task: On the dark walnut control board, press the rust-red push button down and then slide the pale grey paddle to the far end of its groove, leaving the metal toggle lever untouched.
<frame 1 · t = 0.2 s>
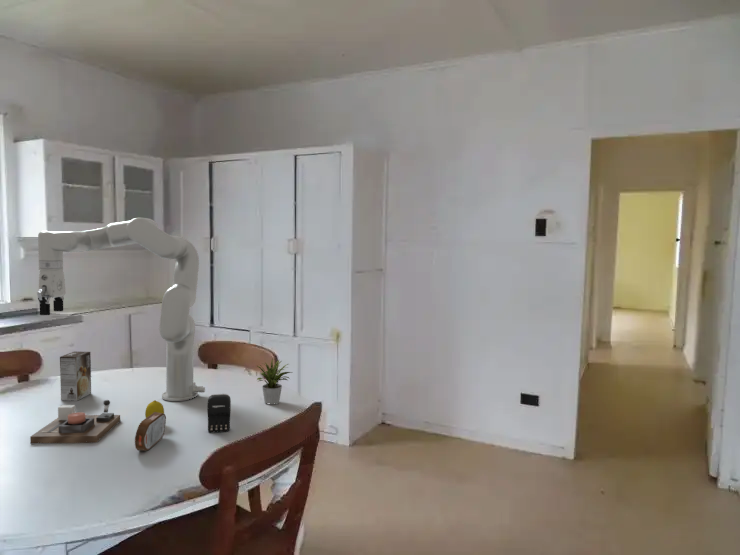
hand: (51, 313, 188), 31 cm above the table, tool pointing down, fingers open, 9 cm apart
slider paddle: (66, 412, 163), point 4 cm above the table, slide at 0.0 cm
tin: (151, 445, 150), on the table
control board: (78, 431, 159), on the table
battery charger: (218, 432, 162), on the table
toggle lever: (106, 405, 165), point 6 cm above the table, hinge at 20.0°
lemon: (154, 425, 166), on the table
coffee box: (76, 397, 192), on the table
house plant: (269, 404, 190), on the table
push button: (76, 418, 155), point 5 cm above the table, slide at 0.0 cm
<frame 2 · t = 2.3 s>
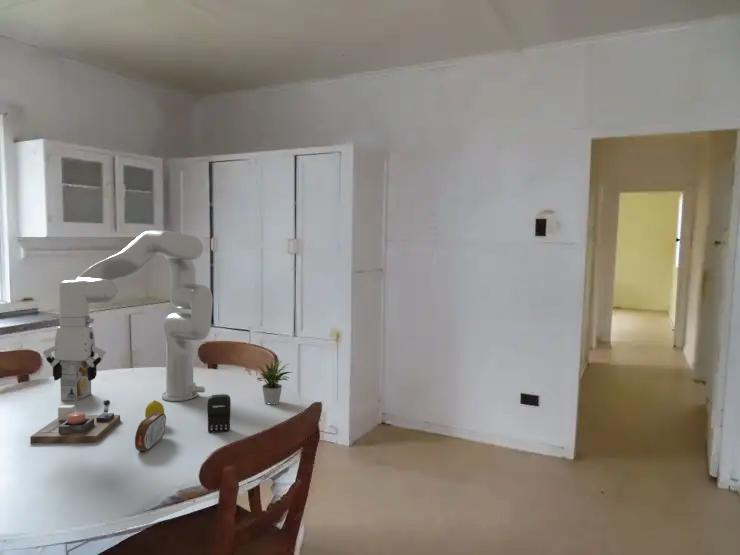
hand: (74, 379, 155), 17 cm above the table, tool pointing down, fingers open, 9 cm apart
nothing on the table moved.
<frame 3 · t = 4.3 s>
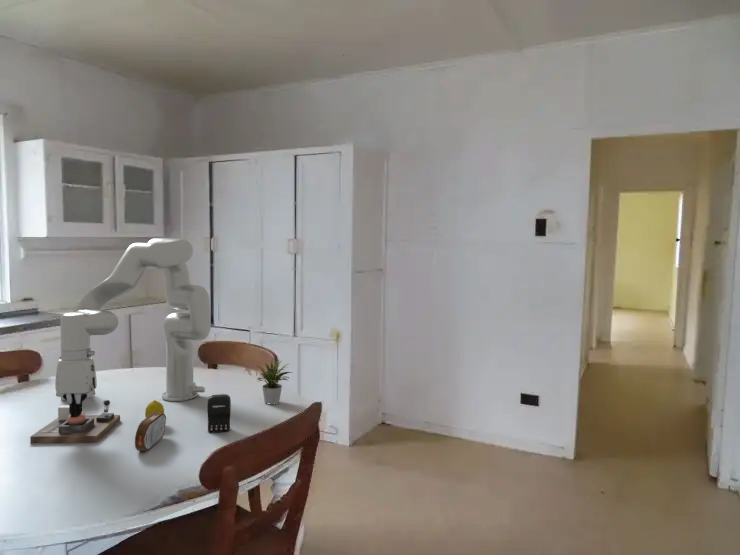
hand: (75, 415, 155), 6 cm above the table, tool pointing down, fingers closed
push button: (76, 418, 155), point 5 cm above the table, slide at 0.2 cm, touching gripper
everything else where it was.
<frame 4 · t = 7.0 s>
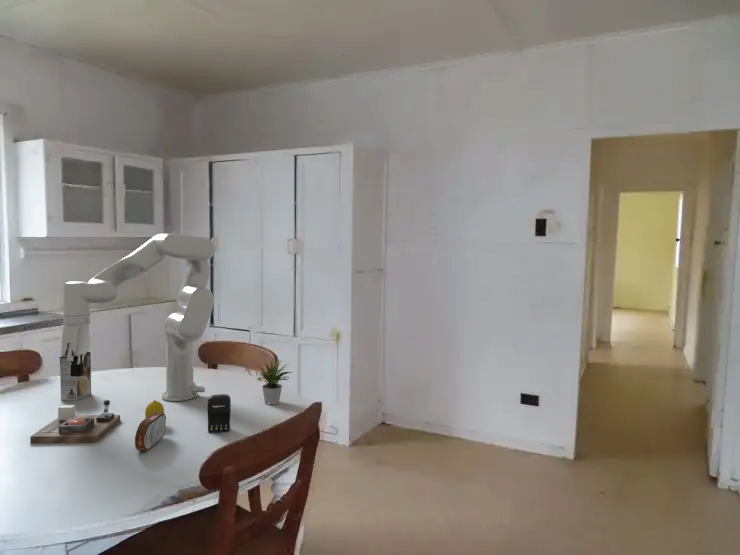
hand: (76, 375, 170), 14 cm above the table, tool pointing down, fingers closed
push button: (76, 424, 156), point 3 cm above the table, slide at 1.8 cm
everything else where it was.
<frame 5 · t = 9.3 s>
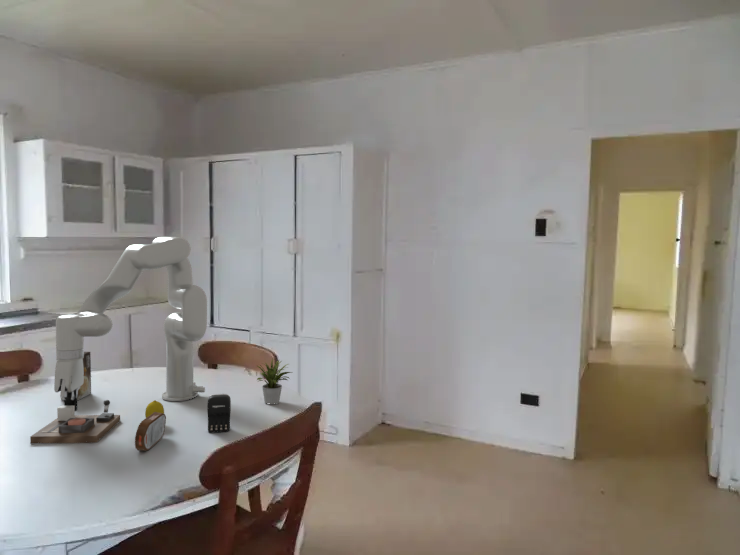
hand: (70, 411, 166), 4 cm above the table, tool pointing down, fingers closed
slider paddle: (66, 413, 162), point 4 cm above the table, slide at 0.4 cm, touching gripper
everything else where it was.
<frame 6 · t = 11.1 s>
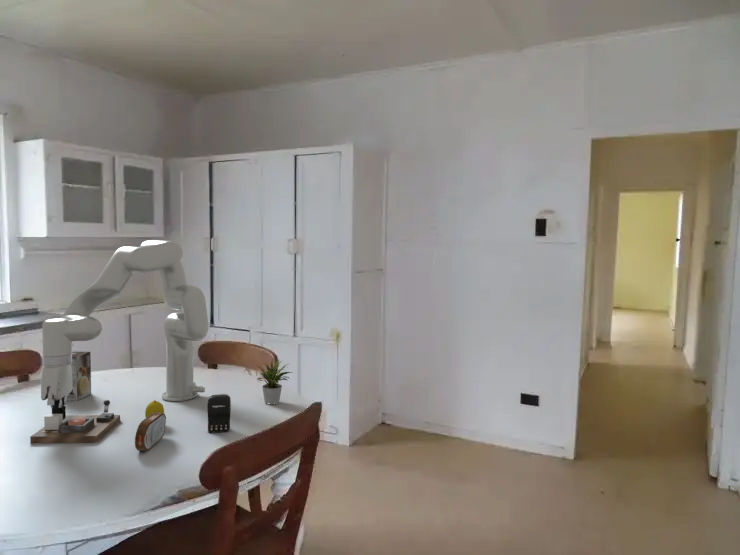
hand: (58, 419, 158), 4 cm above the table, tool pointing down, fingers closed
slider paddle: (53, 421, 155), point 4 cm above the table, slide at 8.1 cm, touching gripper
everything else where it was.
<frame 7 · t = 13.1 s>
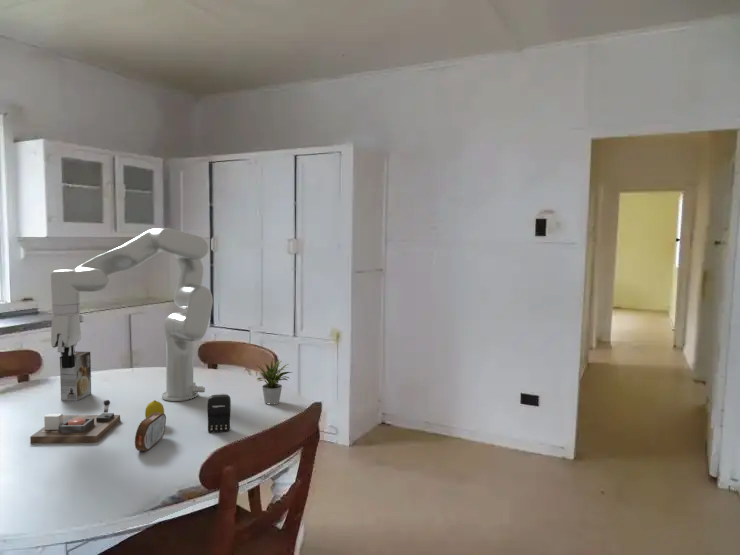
hand: (68, 367, 164), 18 cm above the table, tool pointing down, fingers closed
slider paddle: (53, 421, 155), point 4 cm above the table, slide at 8.1 cm
everything else where it was.
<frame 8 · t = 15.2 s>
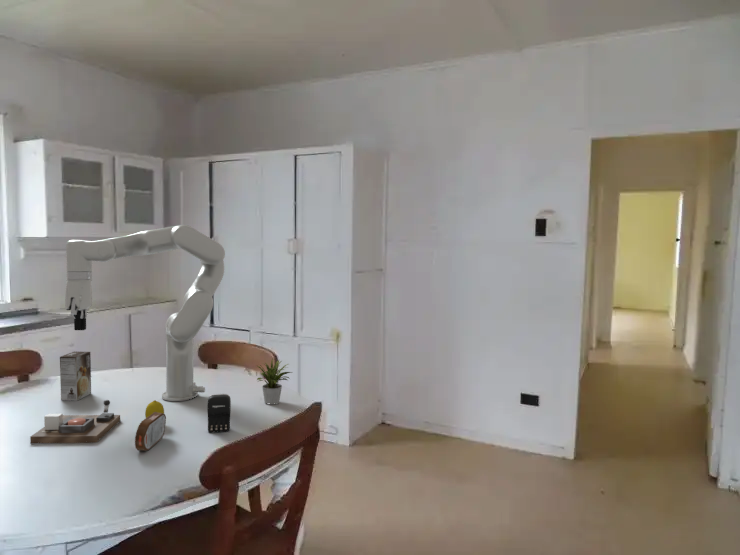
hand: (80, 329, 179), 27 cm above the table, tool pointing down, fingers closed
nothing on the table moved.
at the end: push button slide at 1.8 cm; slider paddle slide at 8.1 cm; toggle lever at +20° (first picture: +20°) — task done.
